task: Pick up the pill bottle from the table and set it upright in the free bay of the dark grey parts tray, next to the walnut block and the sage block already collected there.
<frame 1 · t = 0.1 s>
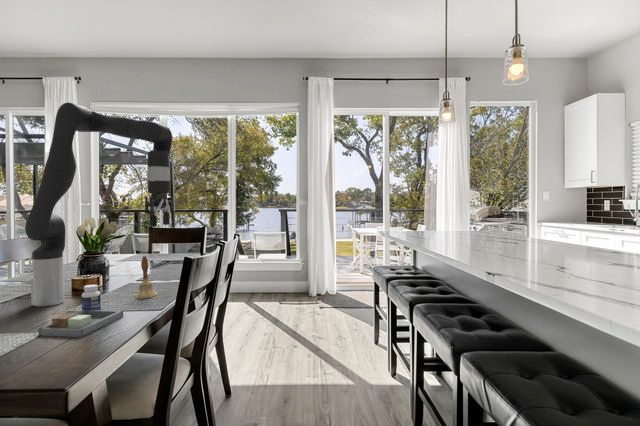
hand: (160, 225, 133), 29 cm above the table, fingers open, 8 cm apart
pill bottle: (91, 315, 125), on the table
sage block: (80, 330, 108), point 1 cm above the table, touching parts tray
parts tray: (83, 327, 112), on the table
walnut block: (64, 330, 108), point 1 cm above the table, touching parts tray
hand bell: (146, 296, 150), on the table
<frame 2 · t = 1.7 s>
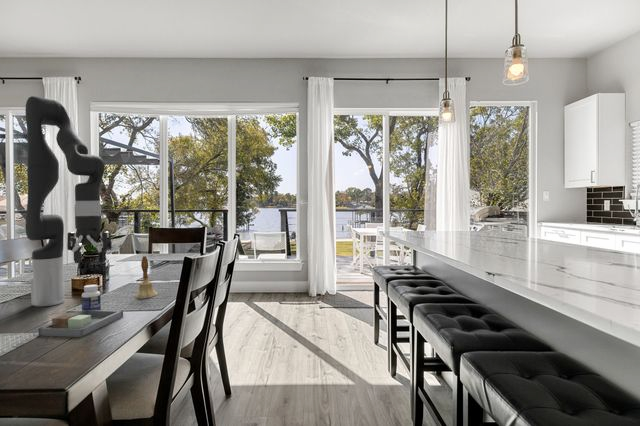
hand: (90, 262, 125), 17 cm above the table, fingers open, 8 cm apart
nothing on the table moved.
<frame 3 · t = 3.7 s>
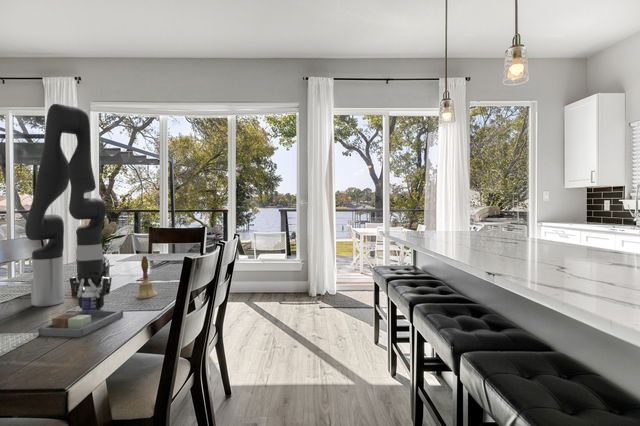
hand: (91, 307, 125), 2 cm above the table, fingers closed on pill bottle, 5 cm apart
pill bottle: (91, 315, 125), on the table, touching gripper
everything else where it was.
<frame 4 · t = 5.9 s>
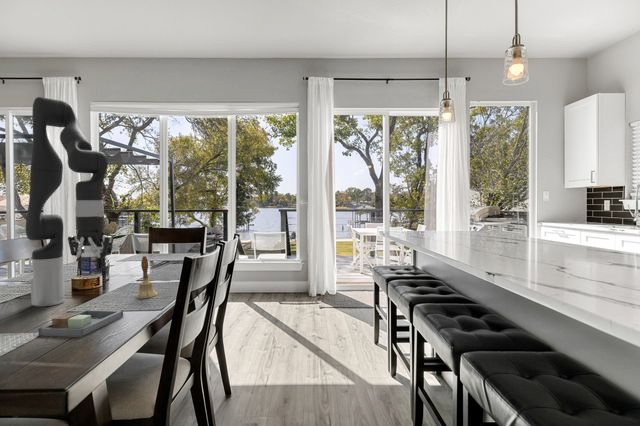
hand: (91, 269, 116), 17 cm above the table, fingers closed on pill bottle, 5 cm apart
pill bottle: (91, 277, 116), point 14 cm above the table, touching gripper
everything else where it was.
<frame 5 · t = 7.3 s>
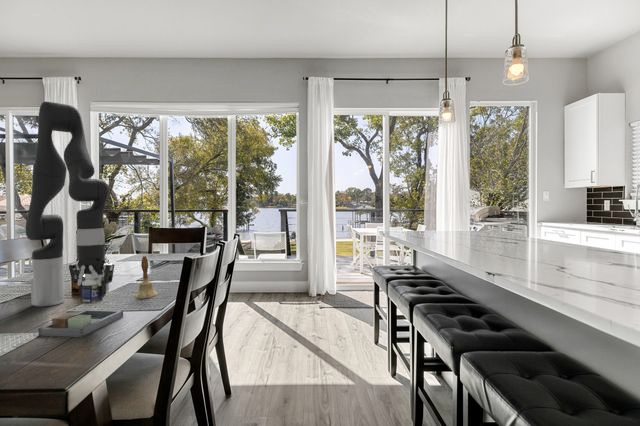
hand: (92, 296, 116), 8 cm above the table, fingers closed on pill bottle, 5 cm apart
pill bottle: (92, 304, 116), point 6 cm above the table, touching gripper
everything else where it was.
when the fingers open (4 cm above the table, at t = 8.6 s): pill bottle drops 1 cm, resting on parts tray.
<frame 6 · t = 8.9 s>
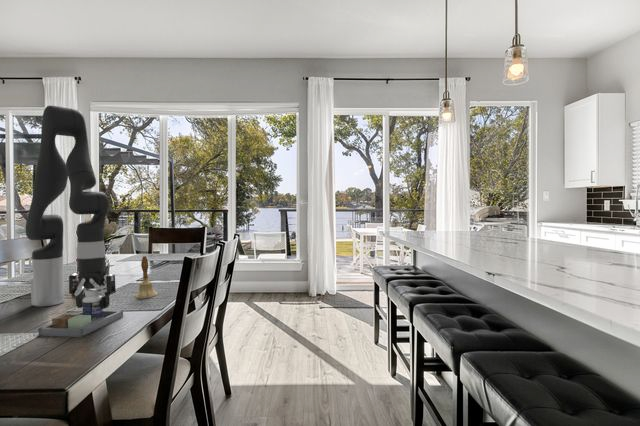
hand: (93, 307, 116), 5 cm above the table, fingers open, 8 cm apart
pill bottle: (93, 321, 117), resting on parts tray
everything else where it was.
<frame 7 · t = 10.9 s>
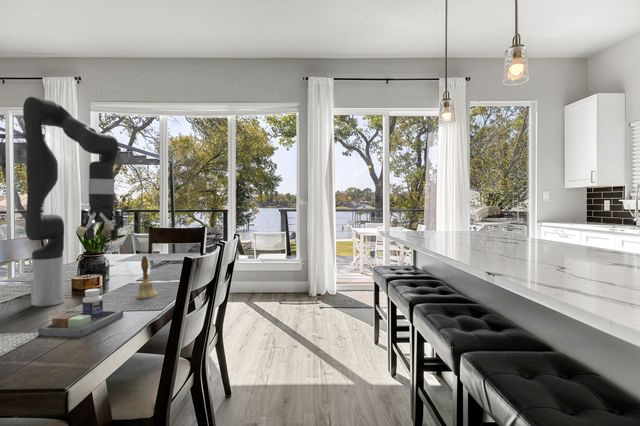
hand: (102, 240, 127), 25 cm above the table, fingers open, 8 cm apart
nothing on the table moved.
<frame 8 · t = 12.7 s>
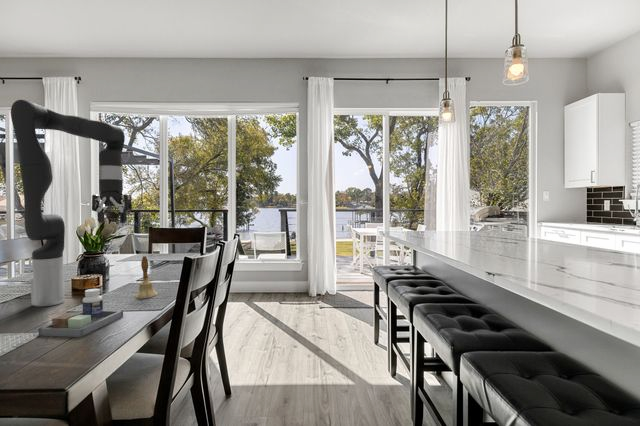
hand: (112, 222, 137), 30 cm above the table, fingers open, 8 cm apart
nothing on the table moved.
at the end: pill bottle inside the target area on the parts tray (4.1 cm from its centre), point 0.4 cm above the parts tray's base; pill bottle tilted 0°; the gripper is holding nothing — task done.
